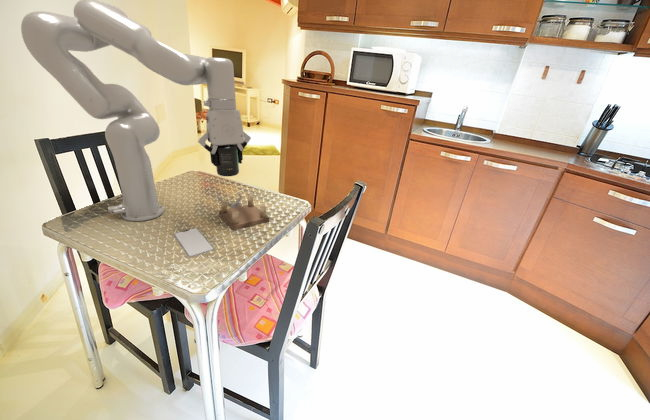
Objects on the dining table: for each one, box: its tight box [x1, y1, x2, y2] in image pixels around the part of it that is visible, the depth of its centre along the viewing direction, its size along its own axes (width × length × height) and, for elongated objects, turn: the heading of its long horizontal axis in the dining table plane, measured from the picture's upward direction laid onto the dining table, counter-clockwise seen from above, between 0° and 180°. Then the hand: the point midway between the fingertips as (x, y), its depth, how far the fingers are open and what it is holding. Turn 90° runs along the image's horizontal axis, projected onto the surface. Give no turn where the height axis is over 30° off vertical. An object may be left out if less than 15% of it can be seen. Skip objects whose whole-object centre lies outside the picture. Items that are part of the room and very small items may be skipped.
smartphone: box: [173, 227, 215, 258], centre depth 88 cm, size 7×1×15 cm
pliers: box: [216, 192, 242, 208], centre depth 115 cm, size 10×1×20 cm
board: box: [218, 194, 270, 231], centre depth 103 cm, size 13×13×6 cm
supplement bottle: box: [215, 144, 240, 177], centre depth 92 cm, size 7×7×12 cm
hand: (227, 163), depth 93 cm, fingers closed on supplement bottle, 6 cm apart
